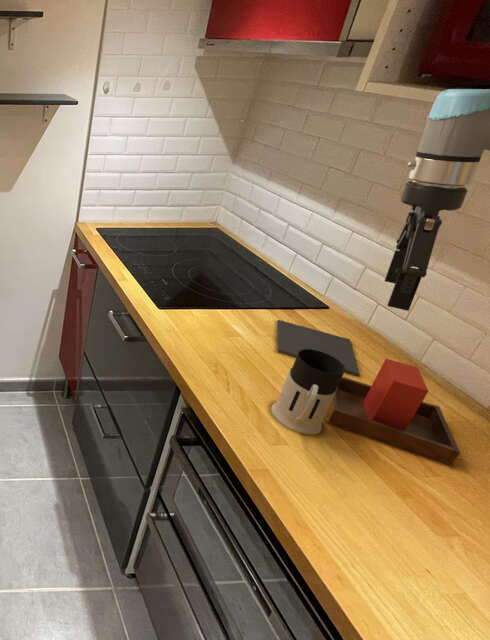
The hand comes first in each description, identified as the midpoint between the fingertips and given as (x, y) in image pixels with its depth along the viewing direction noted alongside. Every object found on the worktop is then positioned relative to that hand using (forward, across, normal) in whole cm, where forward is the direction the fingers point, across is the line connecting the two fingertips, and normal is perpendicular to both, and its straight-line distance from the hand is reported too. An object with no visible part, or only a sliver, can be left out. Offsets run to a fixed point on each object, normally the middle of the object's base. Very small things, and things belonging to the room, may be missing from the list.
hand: (395, 294), depth 84 cm
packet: (+29, -4, +5) cm, 30 cm away
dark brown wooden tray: (+29, -4, +5) cm, 30 cm away
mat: (+28, -26, -8) cm, 38 cm away
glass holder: (+29, +10, -9) cm, 32 cm away
